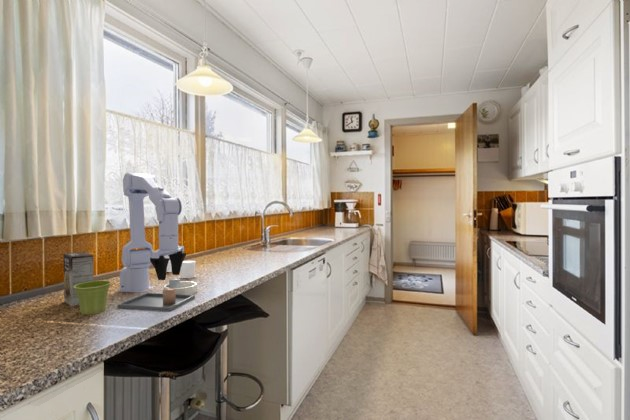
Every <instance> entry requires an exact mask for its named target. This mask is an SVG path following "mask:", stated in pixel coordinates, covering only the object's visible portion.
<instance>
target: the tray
mask: <svg viewBox="0 0 630 420" xmlns="http://www.w3.org/2000/svg"><path fill="white" fill-rule="evenodd" d="M195 297H196V294H191V295H184V294H176V303H175V304H172V305H163V292H161V293H160V292H146V293H143V294H141V295H138V296H135V297H133V298H131V299H128V300H125V301H123V302H121V303H118V304H117V309H132V310H146V311H160V312H161V311H163V312H172V311H174V310H175V309H177V308H179V307H181V306H183V305H185V304H187V303H188V302H190V301H192V300H194V299H195Z"/></svg>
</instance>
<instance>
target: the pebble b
mask: <svg viewBox="0 0 630 420" xmlns="http://www.w3.org/2000/svg"><path fill="white" fill-rule="evenodd" d="M162 293H163V305H172V304H175V303H176V289H175V288H166V289H164V288H163V289H162Z"/></svg>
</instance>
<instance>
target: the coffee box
mask: <svg viewBox="0 0 630 420" xmlns="http://www.w3.org/2000/svg"><path fill="white" fill-rule="evenodd" d="M89 281H94V254H91V253H88V252H84V251H83V252H67V253H63V297H64V302H65V303H66V304H67V305H68V306H69V307H71V308H72V307H75V306H77V305H79V300H78V295H77V293H76V290H75V289H74V287H73V286H74V285H77V284H80V283H84V282H89ZM79 306H80V305H79Z"/></svg>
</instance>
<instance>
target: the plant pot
mask: <svg viewBox="0 0 630 420" xmlns="http://www.w3.org/2000/svg"><path fill="white" fill-rule="evenodd" d="M111 284H112V282H111V281H110V280H102V279H101V280H93V281H89V282H84V283H80V284H77V285H74V286H73V287H74V289H75V290H76V293H77V295H78V300H79V309H80V314H82V315H94V314H99V313H102V312H104V311H106V309H107V299H108V291H109V289H110V285H111Z"/></svg>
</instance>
